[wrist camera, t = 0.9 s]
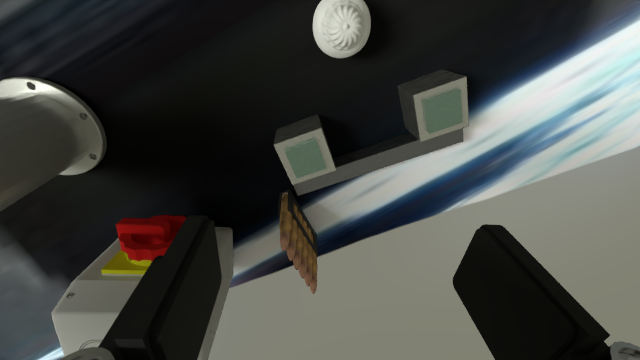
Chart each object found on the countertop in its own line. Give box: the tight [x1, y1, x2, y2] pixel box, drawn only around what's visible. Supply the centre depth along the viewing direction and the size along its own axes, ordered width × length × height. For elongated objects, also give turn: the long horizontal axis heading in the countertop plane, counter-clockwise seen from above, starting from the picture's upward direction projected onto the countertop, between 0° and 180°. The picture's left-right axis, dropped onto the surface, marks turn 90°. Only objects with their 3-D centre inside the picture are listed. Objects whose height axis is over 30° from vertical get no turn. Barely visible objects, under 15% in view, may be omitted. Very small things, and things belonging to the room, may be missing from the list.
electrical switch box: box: [51, 215, 233, 360], centre depth 36 cm, size 15×15×20 cm
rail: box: [274, 69, 469, 196], centre depth 35 cm, size 24×9×6 cm, turn 109°
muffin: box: [313, 0, 371, 58], centre depth 28 cm, size 6×6×7 cm
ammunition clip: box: [278, 189, 318, 294], centre depth 39 cm, size 11×2×12 cm, turn 23°
